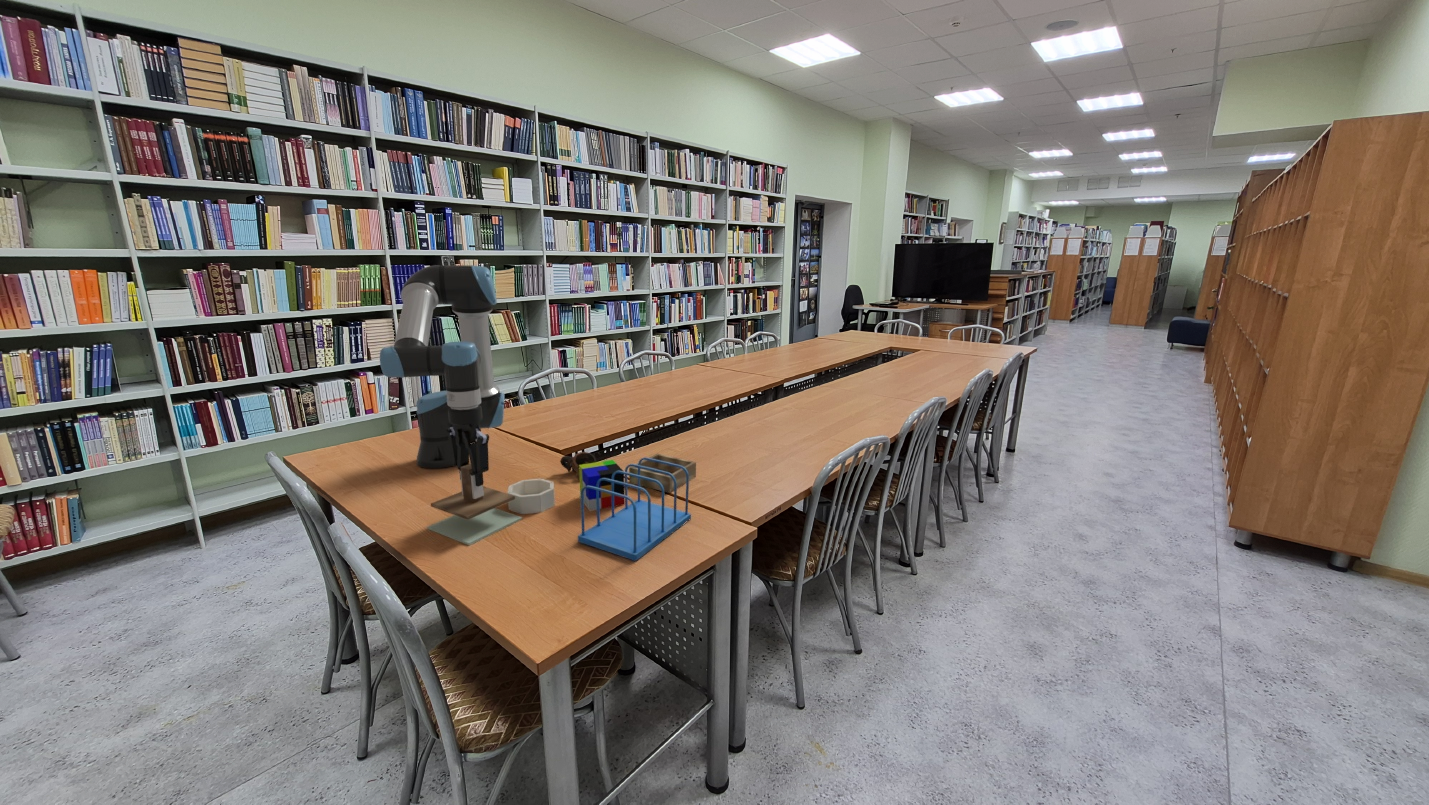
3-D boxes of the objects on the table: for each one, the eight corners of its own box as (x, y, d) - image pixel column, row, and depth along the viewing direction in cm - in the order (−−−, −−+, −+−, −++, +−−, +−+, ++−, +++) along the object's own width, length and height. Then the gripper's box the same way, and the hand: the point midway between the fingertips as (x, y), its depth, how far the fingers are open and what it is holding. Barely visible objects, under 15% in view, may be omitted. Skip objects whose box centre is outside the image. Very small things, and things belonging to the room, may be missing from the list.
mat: (427, 528, 136) (427, 526, 136) (481, 505, 150) (481, 503, 149) (469, 545, 128) (469, 543, 128) (522, 519, 142) (522, 517, 142)
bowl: (500, 506, 149) (498, 490, 148) (533, 491, 159) (532, 476, 158) (530, 517, 143) (529, 500, 142) (563, 501, 153) (562, 484, 152)
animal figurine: (598, 468, 179) (601, 452, 174) (591, 490, 172) (595, 474, 167) (562, 460, 178) (564, 443, 173) (554, 482, 171) (556, 465, 165)
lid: (431, 506, 135) (426, 469, 132) (479, 487, 147) (475, 453, 144) (467, 519, 128) (463, 481, 126) (515, 498, 140) (512, 463, 138)
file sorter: (635, 562, 123) (634, 500, 119) (577, 543, 131) (574, 484, 127) (691, 519, 145) (692, 465, 141) (638, 505, 152) (637, 453, 149)
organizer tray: (629, 482, 167) (629, 467, 166) (657, 467, 180) (657, 453, 179) (669, 493, 160) (669, 477, 159) (695, 476, 173) (696, 462, 172)
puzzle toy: (589, 511, 148) (588, 477, 145) (580, 497, 156) (578, 465, 154) (624, 504, 152) (623, 471, 150) (613, 491, 161) (613, 459, 158)
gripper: (429, 404, 132) (439, 493, 138) (473, 414, 124) (482, 508, 130) (456, 398, 138) (465, 483, 144) (500, 407, 131) (507, 497, 136)
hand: (473, 495), depth 137 cm, fingers closed on lid, 3 cm apart
